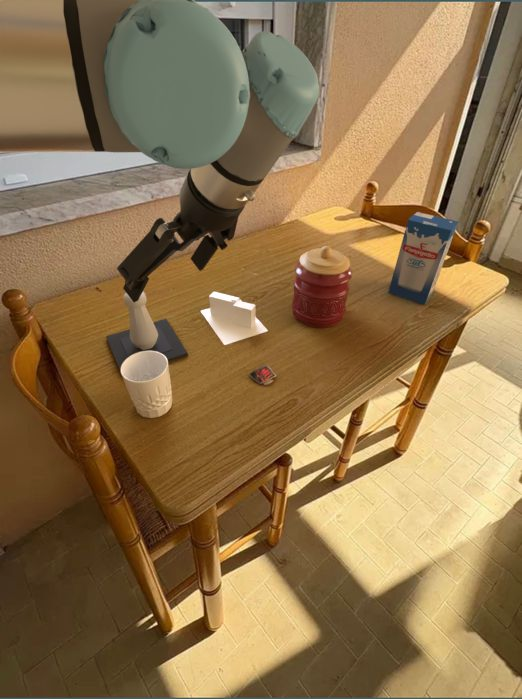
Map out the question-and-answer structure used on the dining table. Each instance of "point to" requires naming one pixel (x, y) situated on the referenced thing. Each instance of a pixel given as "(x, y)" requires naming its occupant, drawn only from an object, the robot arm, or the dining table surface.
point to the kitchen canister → (321, 287)
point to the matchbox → (263, 375)
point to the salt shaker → (140, 323)
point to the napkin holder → (232, 318)
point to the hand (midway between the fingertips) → (165, 278)
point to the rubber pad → (164, 345)
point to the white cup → (148, 383)
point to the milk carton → (421, 256)
